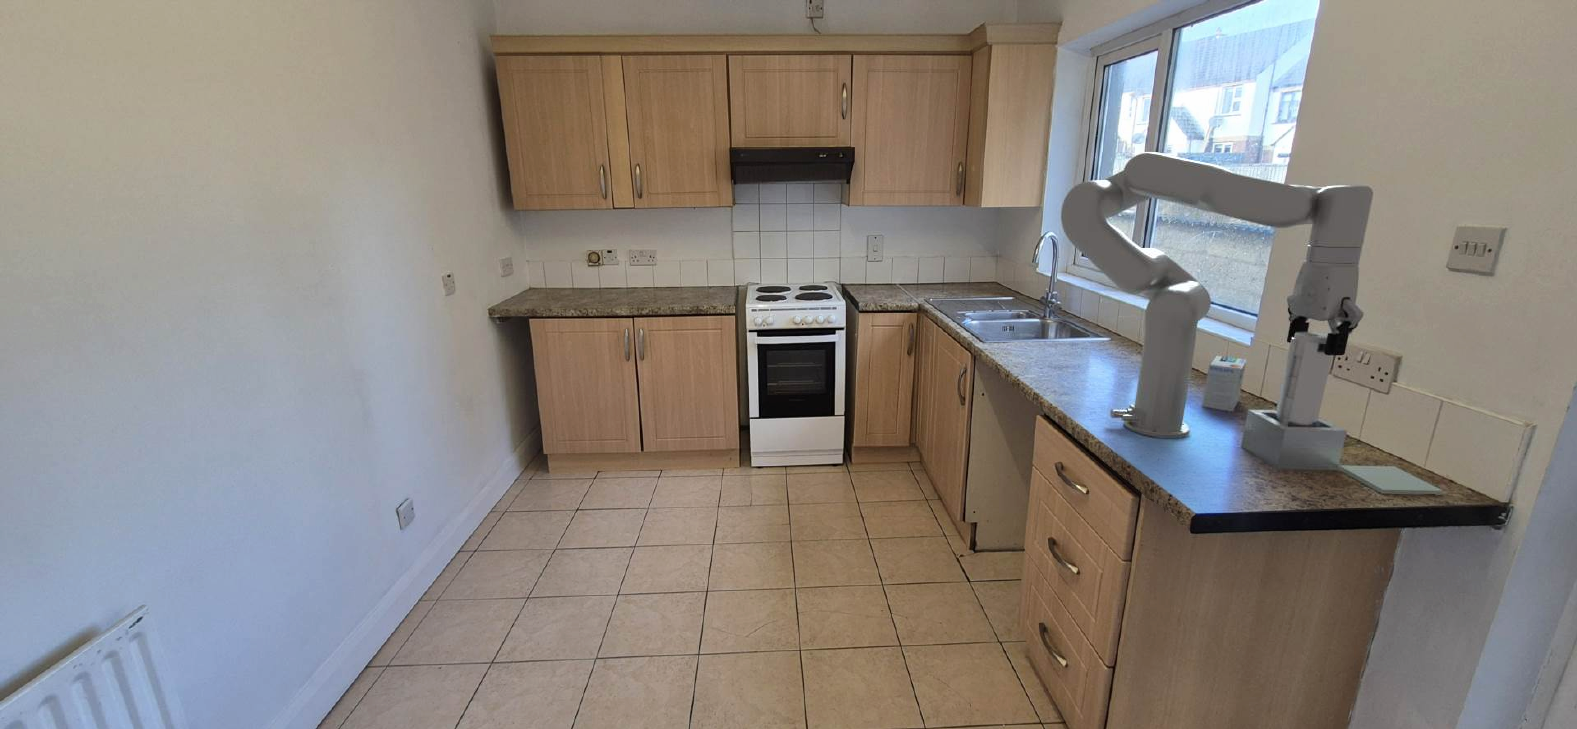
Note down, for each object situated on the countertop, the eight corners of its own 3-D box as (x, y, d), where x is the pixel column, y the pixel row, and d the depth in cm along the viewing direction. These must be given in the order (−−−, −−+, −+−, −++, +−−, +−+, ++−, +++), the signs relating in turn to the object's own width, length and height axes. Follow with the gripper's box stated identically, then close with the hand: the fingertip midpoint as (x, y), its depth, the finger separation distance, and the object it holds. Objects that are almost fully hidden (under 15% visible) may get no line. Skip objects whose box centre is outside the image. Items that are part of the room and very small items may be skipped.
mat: (1381, 493, 113) (1382, 489, 113) (1338, 469, 123) (1338, 465, 123) (1441, 494, 113) (1443, 490, 112) (1393, 470, 122) (1394, 466, 122)
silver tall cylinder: (1315, 466, 124) (1344, 338, 118) (1276, 463, 126) (1304, 337, 119) (1296, 452, 130) (1324, 331, 124) (1260, 450, 132) (1285, 329, 125)
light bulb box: (1207, 395, 165) (1215, 354, 163) (1239, 401, 161) (1247, 359, 158) (1200, 406, 157) (1208, 363, 155) (1234, 412, 153) (1242, 368, 150)
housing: (1276, 469, 123) (1285, 429, 121) (1240, 446, 134) (1248, 409, 131) (1337, 470, 122) (1347, 430, 120) (1296, 447, 133) (1304, 410, 131)
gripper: (1278, 252, 126) (1263, 338, 130) (1348, 261, 109) (1327, 360, 114) (1319, 251, 125) (1302, 338, 130) (1395, 261, 109) (1372, 360, 113)
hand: (1314, 348), depth 122 cm, fingers open, 9 cm apart
